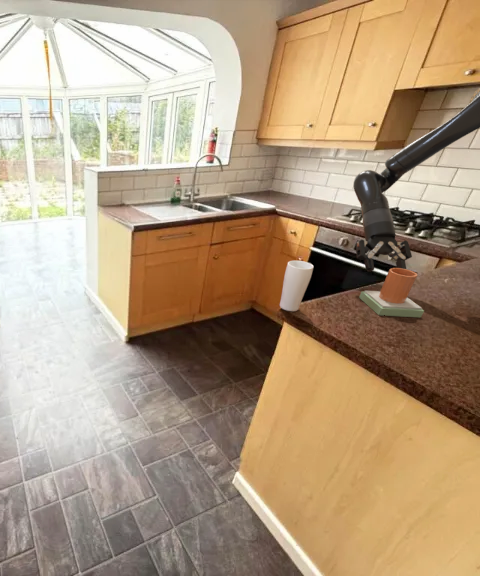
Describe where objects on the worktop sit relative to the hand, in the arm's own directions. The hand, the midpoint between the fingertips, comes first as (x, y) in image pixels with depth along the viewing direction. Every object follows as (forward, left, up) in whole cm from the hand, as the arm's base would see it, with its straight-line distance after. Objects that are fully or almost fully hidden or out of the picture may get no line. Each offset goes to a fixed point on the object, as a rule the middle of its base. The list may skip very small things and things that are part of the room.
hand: (386, 271), depth 102 cm
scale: (0, +7, -9) cm, 11 cm away
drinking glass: (+30, +11, -9) cm, 33 cm away
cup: (0, +7, -6) cm, 9 cm away
